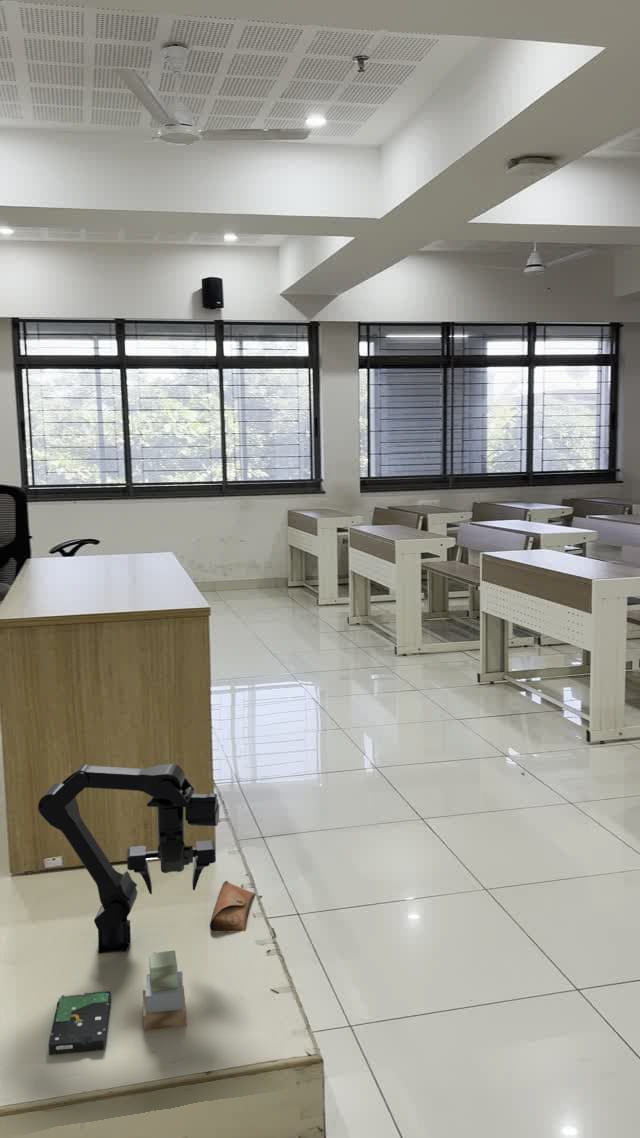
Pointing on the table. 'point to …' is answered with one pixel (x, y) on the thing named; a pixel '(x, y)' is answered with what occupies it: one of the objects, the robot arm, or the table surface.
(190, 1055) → the table surface
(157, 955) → the green cube
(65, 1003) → the disk drive
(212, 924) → the sunglasses case
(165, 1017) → the tower base
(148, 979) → the tower top
